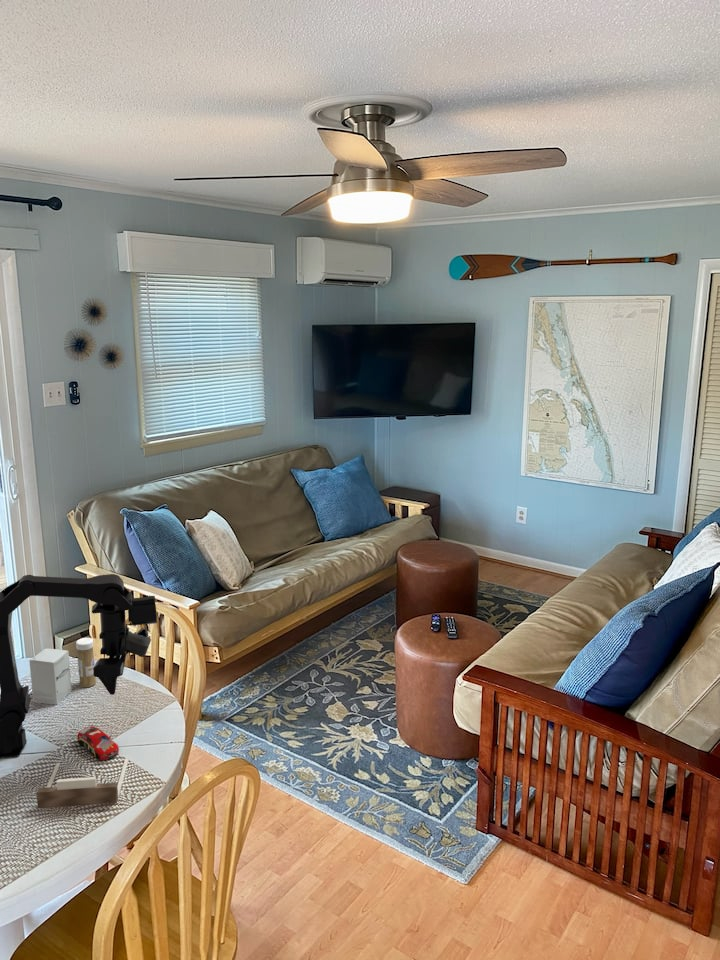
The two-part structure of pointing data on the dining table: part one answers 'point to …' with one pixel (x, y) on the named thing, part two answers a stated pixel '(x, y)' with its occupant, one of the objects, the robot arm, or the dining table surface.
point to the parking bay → (78, 791)
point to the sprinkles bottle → (86, 662)
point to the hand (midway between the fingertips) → (116, 684)
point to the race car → (97, 743)
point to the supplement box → (50, 676)
